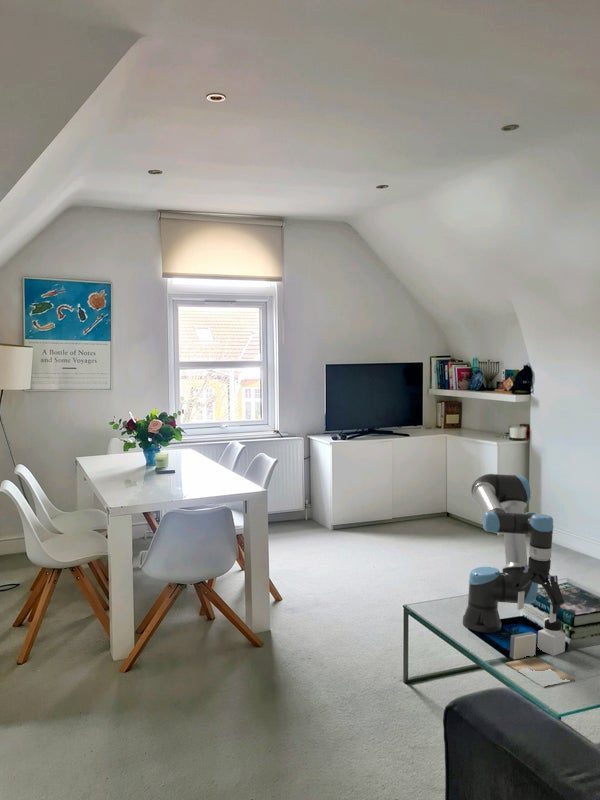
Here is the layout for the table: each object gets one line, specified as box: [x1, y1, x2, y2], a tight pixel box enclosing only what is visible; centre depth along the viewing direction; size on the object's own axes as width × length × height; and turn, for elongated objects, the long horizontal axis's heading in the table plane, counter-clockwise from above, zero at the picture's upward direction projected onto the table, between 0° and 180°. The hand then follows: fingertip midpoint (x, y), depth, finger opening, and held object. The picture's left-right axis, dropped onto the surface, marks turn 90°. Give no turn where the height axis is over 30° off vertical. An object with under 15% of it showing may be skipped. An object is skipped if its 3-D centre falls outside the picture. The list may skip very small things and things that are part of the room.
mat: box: [504, 656, 576, 682], centre depth 224 cm, size 18×14×1 cm
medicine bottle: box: [536, 616, 567, 657], centre depth 242 cm, size 7×7×12 cm
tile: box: [509, 631, 537, 661], centre depth 237 cm, size 2×10×8 cm, turn 115°
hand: (536, 615), depth 235 cm, fingers open, 13 cm apart
